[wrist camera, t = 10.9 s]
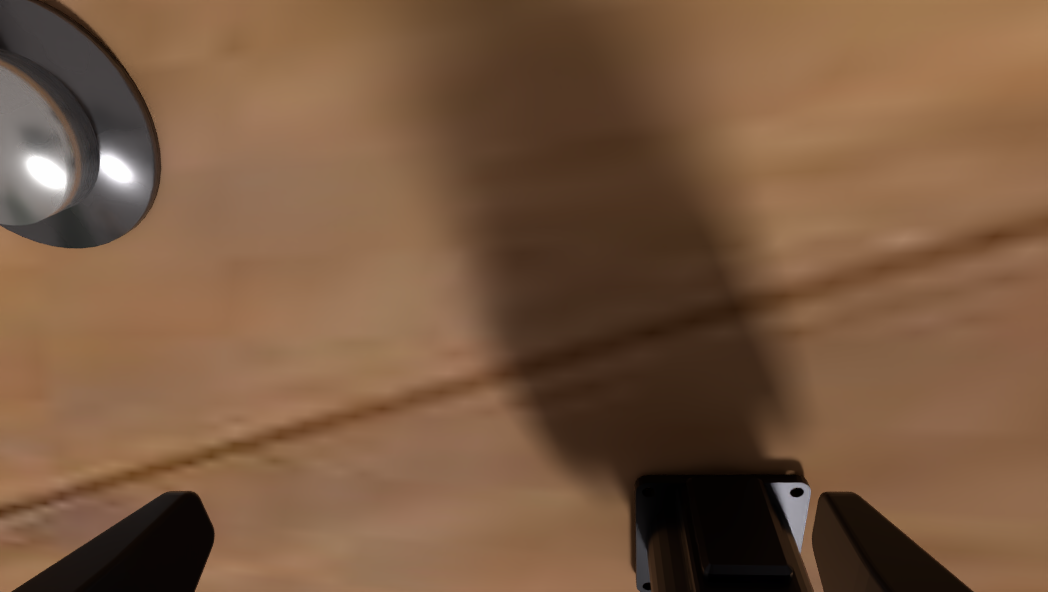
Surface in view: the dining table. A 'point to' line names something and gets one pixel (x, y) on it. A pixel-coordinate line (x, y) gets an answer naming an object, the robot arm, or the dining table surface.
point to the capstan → (41, 144)
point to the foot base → (114, 113)
